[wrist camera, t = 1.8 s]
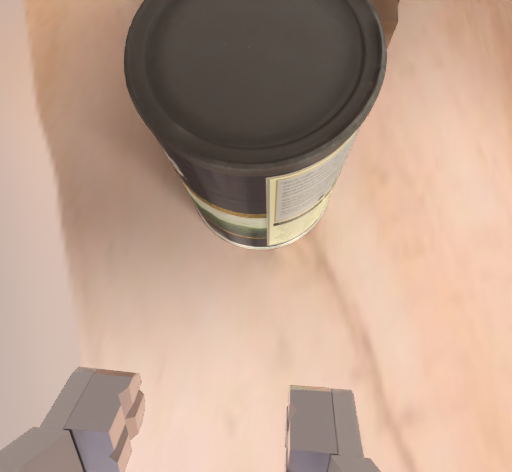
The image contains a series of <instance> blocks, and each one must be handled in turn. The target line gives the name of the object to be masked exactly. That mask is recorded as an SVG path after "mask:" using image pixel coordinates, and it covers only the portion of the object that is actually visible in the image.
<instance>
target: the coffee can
mask: <svg viewBox="0 0 512 472" xmlns="http://www.w3.org/2000/svg"><path fill="white" fill-rule="evenodd" d="M386 61H387V50H386V39H385V33H384V29H383V25H382V23H381V20H380V17H379V15H378V13H377V11H376V9H375V7H374V5H373V4H372V2H371V0H145V1H144V2H143V3H142V5H141V6H140V8H139V9H138V11H137V13H136V14H135V16H134V18H133V21H132V23H131V26H130V28H129V31H128V35H127V39H126V45H125V53H124V72H125V77H126V84H127V88H128V91H129V94H130V97H131V99H132V101H133V103H134V105H135V108H136V110H137V112H138V113H139V115H140V116H141V118H142V119H143V121H144V122H145V124H146V125H147V126H148V128H149V129H150V130H151V131H152V133H153V134H154V135H155V136H156V138H157V140H158V141H159V143H160V145H161V146H162V148H163V150H164V152H165V153H166V155H167V157H168V159H169V160H170V162H171V164H172V165H173V167H174V169H175V170H176V172H177V174H178V175H179V177H180V179H181V181H182V182H183V184H184V186H185V187H186V189H187V191H188V192H189V194H190V196H191V198H192V199H193V201H194V203H195V205H196V208H197V210H198V212H199V214H200V216H201V218H202V219H203V221H204V222H205V223H206V225H207V226H208V227H209V228H210V229H211V230H212V231H213V232H214V233H215V234H216V235H218V236H219V237H220V238H222V239H224V240H225V241H227V242H229V243H231V244H233V245H236V246H239V247H243V248H247V249H255V250H269V249H276V248H279V247H283V246H286V245H288V244H291V243H293V242H295V241H296V240H298V239H300V238H301V237H303V236H304V235H305V234H307V233H308V232H309V231H310V230H311V229H312V228H313V227H314V226H315V225H316V224H317V223H318V221H319V220H320V218H321V217H322V215H323V213H324V211H325V209H326V206H327V204H328V200H329V197H330V194H331V192H332V190H333V188H334V185H335V183H336V181H337V178H338V176H339V174H340V172H341V169H342V167H343V165H344V162H345V160H346V158H347V156H348V153H349V151H350V149H351V147H352V144H353V142H354V140H355V138H356V135H357V133H358V131H359V129H360V126H361V124H362V123H363V121H364V120H365V118H366V117H367V115H368V114H369V112H370V110H371V109H372V107H373V105H374V103H375V101H376V99H377V97H378V95H379V92H380V90H381V87H382V83H383V80H384V76H385V70H386Z"/></svg>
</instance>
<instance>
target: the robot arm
mask: <svg viewBox="0 0 512 472" xmlns="http://www.w3.org/2000/svg"><path fill="white" fill-rule="evenodd" d="M141 383H142V381H141V377H140V373H132V372H123V371H114V370H105V369H96V368H85V367H78V368H77V369H76V370H75V371H74V372H73V373H72V374H71V376H70V378H69V379H68V381H67V383H66V385H65V386H64V388H63V389H62V391H61V393H60V394H59V396H58V398H57V399H56V401H55V403H54V404H53V406H52V408H51V409H50V411H49V413H48V414H47V416H46V418H45V419H44V421H43V422H42V424H41V426H40V427H33V428H31V429H30V430H28V431H27V432H26V433H24V434H23V435H21V436H20V437H19V438H17V439H16V440H14V441H13V442H12V443H10V444H9V445H7V446H6V447H5V448H3V449H2V450H1V451H0V472H125V469H126V466H127V463H128V461H129V458H130V455H131V453H132V448H131V444H130V440H131V439H132V438H133V437H135V436H136V435H137V434H138V433H139V430H140V427H141V424H142V421H143V416H144V411H145V398H144V394H143V393H142V392H141V391H140V390H139V388H140V385H141ZM285 448H286V457H285V472H381V471H380V470H379V469H378V467H377V466H376V465H375V464H374V462H373V461H372V460H371V458H364V455H363V448H362V442H361V436H360V430H359V424H358V418H357V412H356V406H355V400H354V394H353V392H352V391H351V390H344V389H330V388H325V387H311V386H296V385H290V386H289V393H288V406H287V412H286V426H285Z"/></svg>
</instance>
